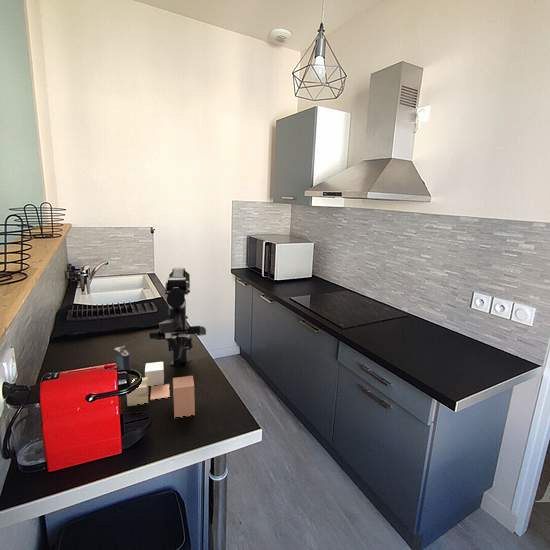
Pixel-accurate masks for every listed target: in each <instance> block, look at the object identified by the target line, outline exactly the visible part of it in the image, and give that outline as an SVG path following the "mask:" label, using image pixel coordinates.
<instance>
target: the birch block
mask: <svg viewBox="0 0 550 550" xmlns="http://www.w3.org/2000/svg"><path fill="white" fill-rule="evenodd" d="M141 378H142V382H141V384H140V385H139V387H138V388H136V389H135V390H134V391H132V392H131V393H129V394H127V393H126V403H127V404H126V405H127V407H132V406H138V405H137V404H140V405H145V404H144V403H147V404H149V396H150V395H149V394H150V391H149V390H150V389H149V388H150V387H148V377H145V376H144V377H141ZM132 379H133V380H132V382H131V383H133V382H134V381H135V379H136V378H132ZM148 395H149V396H148Z"/></svg>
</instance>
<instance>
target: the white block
mask: <svg viewBox="0 0 550 550" xmlns="http://www.w3.org/2000/svg"><path fill="white" fill-rule="evenodd" d="M164 365H165V363H164V361H156V362H148V363H145V368H144V378H145V377H148V386H154V385H163V384H164V385H165V369H164Z"/></svg>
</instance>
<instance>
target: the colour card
mask: <svg viewBox="0 0 550 550" xmlns="http://www.w3.org/2000/svg"><path fill="white" fill-rule="evenodd" d="M169 388H170V383H166V384H165V383H164V385H157V386H151V387H150V395H149V396H150V400H151V401H156V400H155V399H158V400H162V399H161V398H165V399H169V398H168V397H171V396H170V394H171V393H170V390H171V389H169Z"/></svg>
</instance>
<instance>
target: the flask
mask: <svg viewBox="0 0 550 550" xmlns="http://www.w3.org/2000/svg"><path fill="white" fill-rule="evenodd" d="M125 347H126V346H125V345H123V346H119V347H118V346H117V347H115V348H114V349H113V351H114V360H115V365H116V364H117V366H118V369H121V370H130V371H131V362H130V361H131V360H130V353H129V352H128V351H127V350H126V348H125Z"/></svg>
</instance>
